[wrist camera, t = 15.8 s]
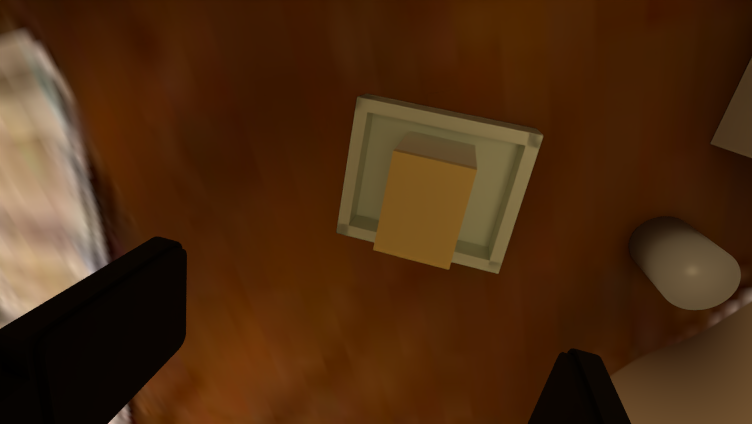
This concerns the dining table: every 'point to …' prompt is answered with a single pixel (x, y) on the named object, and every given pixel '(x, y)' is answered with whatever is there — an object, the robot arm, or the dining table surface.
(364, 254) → the dining table surface
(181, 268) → the robot arm
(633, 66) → the dining table surface
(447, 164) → the block
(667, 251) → the grey cap
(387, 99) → the parts tray
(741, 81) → the box
